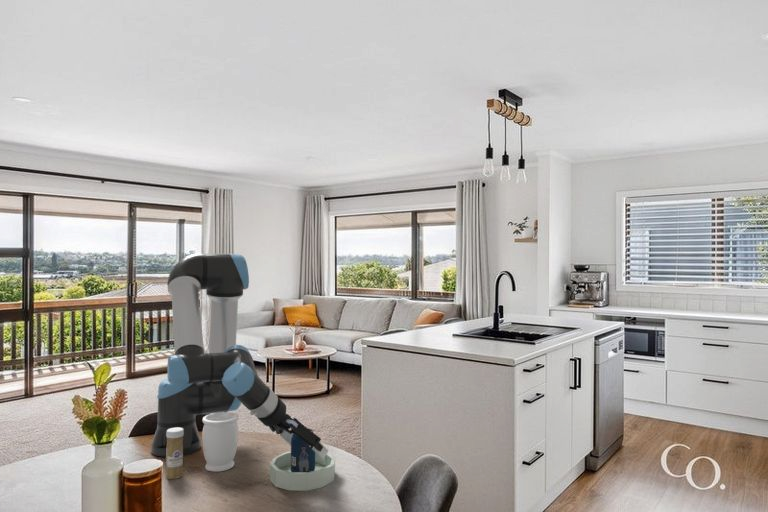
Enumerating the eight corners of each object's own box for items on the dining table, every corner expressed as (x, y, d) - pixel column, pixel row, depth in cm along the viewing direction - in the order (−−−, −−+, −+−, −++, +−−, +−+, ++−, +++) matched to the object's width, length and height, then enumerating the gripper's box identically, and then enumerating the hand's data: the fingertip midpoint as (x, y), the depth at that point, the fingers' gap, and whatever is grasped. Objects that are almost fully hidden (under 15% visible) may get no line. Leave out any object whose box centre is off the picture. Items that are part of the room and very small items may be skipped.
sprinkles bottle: (171, 481, 145) (172, 432, 145) (162, 477, 148) (163, 429, 148) (186, 475, 149) (186, 428, 149) (177, 471, 151) (177, 425, 151)
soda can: (305, 466, 154) (305, 426, 154) (319, 473, 149) (320, 431, 149) (285, 473, 149) (286, 431, 149) (300, 480, 144) (300, 437, 144)
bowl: (262, 471, 152) (262, 456, 152) (319, 460, 161) (319, 446, 161) (283, 495, 136) (283, 478, 137) (345, 482, 146) (345, 465, 146)
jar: (226, 475, 149) (227, 423, 150) (194, 472, 151) (195, 420, 152) (244, 461, 160) (244, 412, 160) (213, 458, 162) (214, 410, 162)
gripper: (233, 409, 146) (276, 450, 157) (287, 429, 129) (331, 472, 141) (249, 387, 150) (290, 428, 161) (304, 403, 133) (346, 447, 145)
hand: (309, 448), depth 151 cm, fingers open, 12 cm apart
